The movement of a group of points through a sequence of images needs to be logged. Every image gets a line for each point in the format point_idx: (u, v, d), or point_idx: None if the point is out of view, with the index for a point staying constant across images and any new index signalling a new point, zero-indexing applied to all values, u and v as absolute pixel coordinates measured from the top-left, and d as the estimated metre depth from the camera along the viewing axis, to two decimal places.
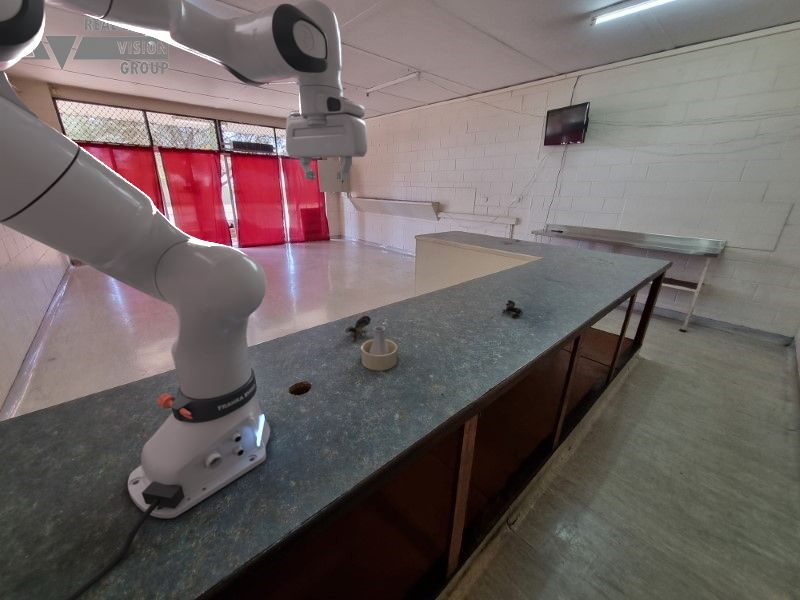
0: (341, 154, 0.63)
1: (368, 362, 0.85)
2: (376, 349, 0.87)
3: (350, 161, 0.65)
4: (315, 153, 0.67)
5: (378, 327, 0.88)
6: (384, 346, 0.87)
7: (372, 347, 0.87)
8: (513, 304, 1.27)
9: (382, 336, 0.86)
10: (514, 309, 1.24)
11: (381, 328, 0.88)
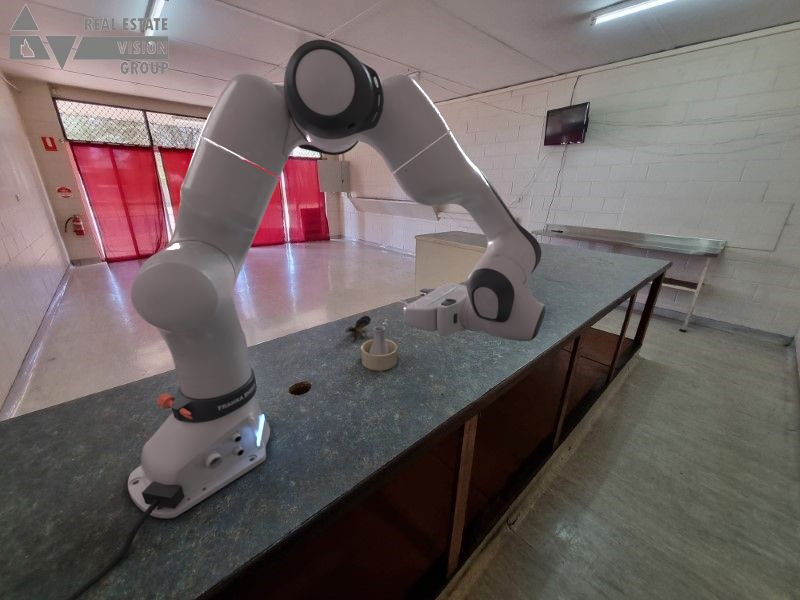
0: (413, 302, 0.68)
1: (368, 362, 0.85)
2: (376, 349, 0.87)
3: None
4: (431, 292, 0.73)
5: (378, 327, 0.88)
6: (384, 346, 0.87)
7: (372, 347, 0.87)
8: None
9: (382, 336, 0.86)
10: None
11: (381, 328, 0.88)
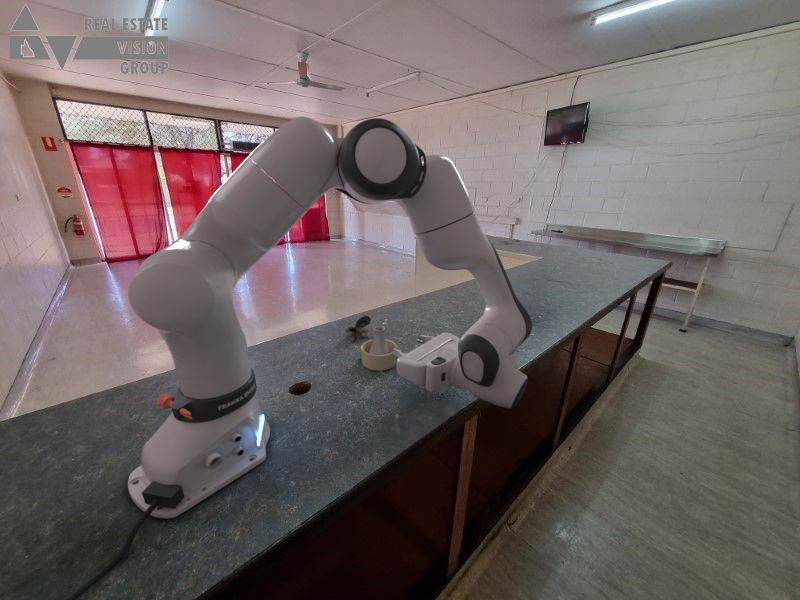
0: (407, 353, 0.73)
1: (368, 362, 0.85)
2: (376, 349, 0.87)
3: None
4: (426, 343, 0.78)
5: (378, 327, 0.88)
6: (384, 346, 0.87)
7: (372, 347, 0.87)
8: None
9: (382, 336, 0.86)
10: None
11: (381, 328, 0.88)
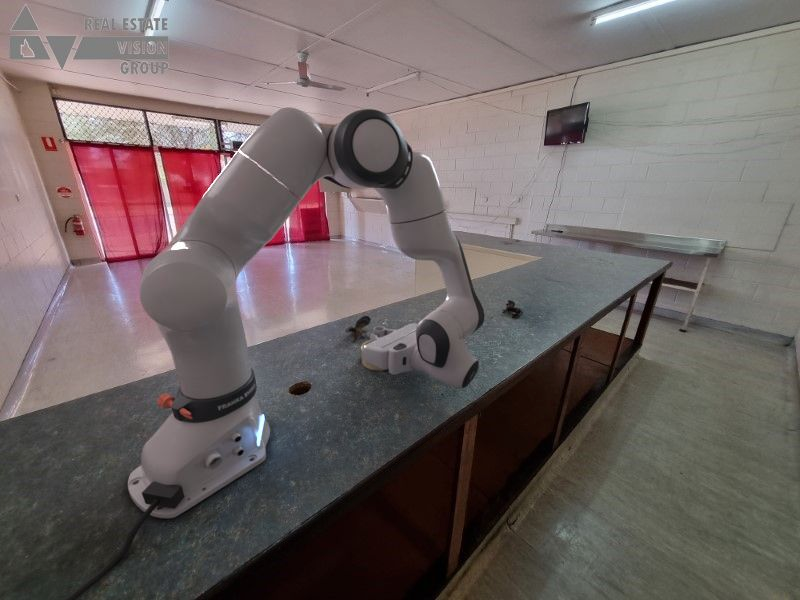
0: (374, 341, 0.80)
1: (368, 362, 0.85)
2: None
3: None
4: (393, 332, 0.84)
5: (378, 327, 0.88)
6: None
7: None
8: (513, 304, 1.27)
9: (382, 336, 0.86)
10: (514, 309, 1.24)
11: (381, 328, 0.88)
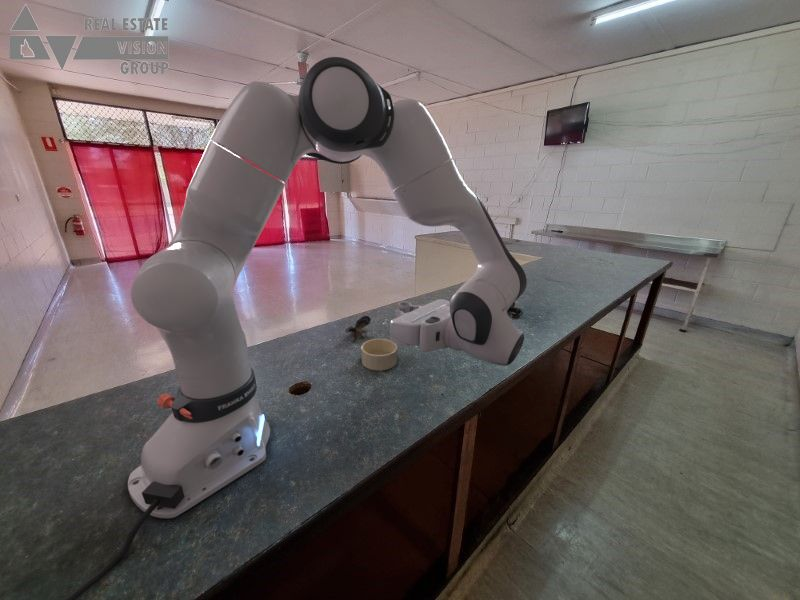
0: (401, 316, 0.71)
1: (368, 362, 0.85)
2: None
3: None
4: (420, 307, 0.76)
5: (403, 303, 0.79)
6: None
7: None
8: (513, 304, 1.27)
9: (408, 312, 0.78)
10: (514, 309, 1.24)
11: (406, 304, 0.79)
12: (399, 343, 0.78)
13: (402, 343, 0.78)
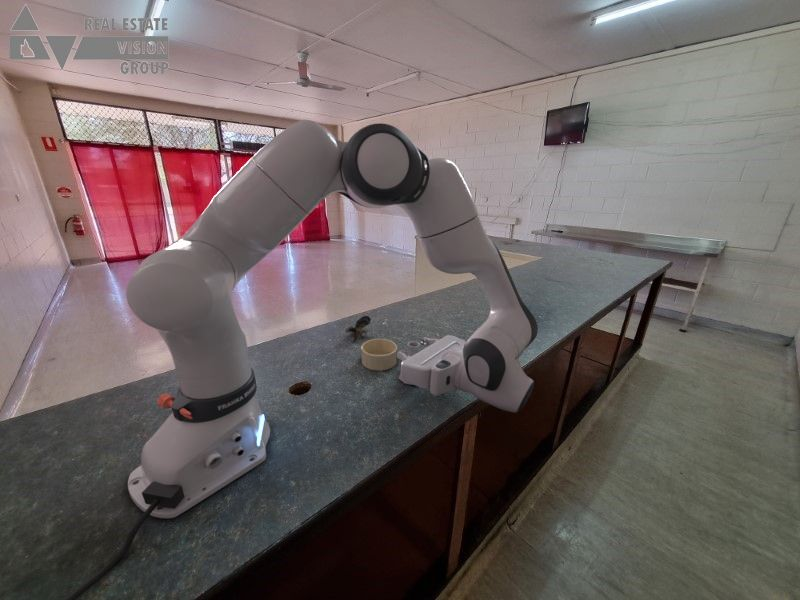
0: (411, 356, 0.72)
1: (368, 362, 0.85)
2: None
3: None
4: (430, 346, 0.77)
5: (412, 342, 0.81)
6: None
7: None
8: None
9: (417, 352, 0.79)
10: None
11: (415, 343, 0.81)
12: (408, 382, 0.80)
13: None
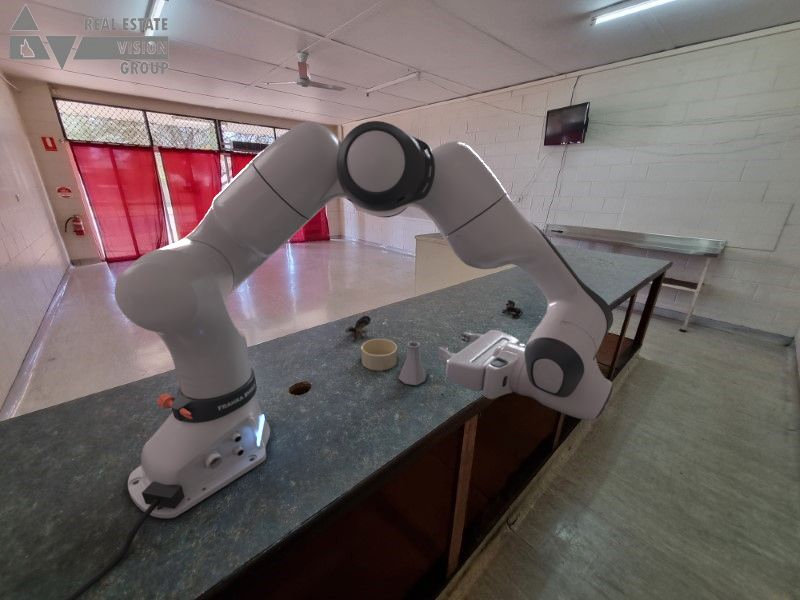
0: (457, 353, 0.62)
1: (368, 362, 0.85)
2: (411, 367, 0.79)
3: None
4: (475, 341, 0.67)
5: (412, 342, 0.81)
6: (419, 363, 0.80)
7: (406, 364, 0.80)
8: (513, 304, 1.27)
9: (417, 352, 0.79)
10: (514, 309, 1.24)
11: (415, 343, 0.81)
12: (408, 382, 0.80)
13: (411, 382, 0.79)
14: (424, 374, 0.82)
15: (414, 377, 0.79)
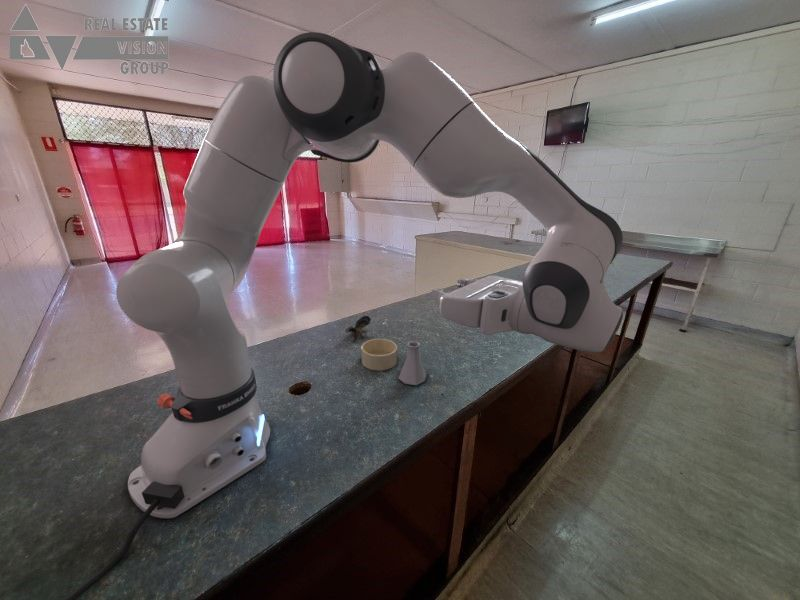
0: (452, 291, 0.57)
1: (368, 362, 0.85)
2: (411, 367, 0.79)
3: None
4: (472, 283, 0.62)
5: (412, 342, 0.81)
6: (419, 363, 0.80)
7: (406, 364, 0.80)
8: None
9: (417, 352, 0.79)
10: None
11: (415, 343, 0.81)
12: (408, 382, 0.80)
13: (411, 382, 0.79)
14: (424, 374, 0.82)
15: (414, 377, 0.79)
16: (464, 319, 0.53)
